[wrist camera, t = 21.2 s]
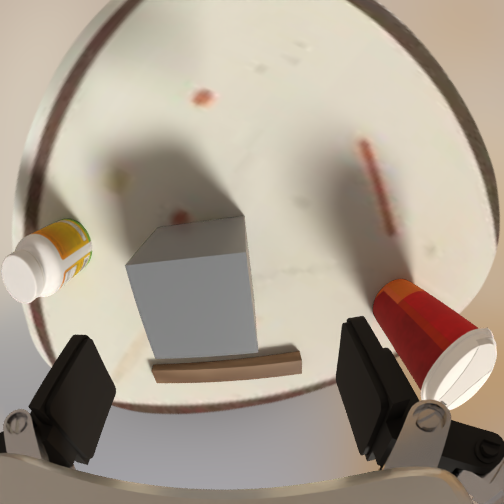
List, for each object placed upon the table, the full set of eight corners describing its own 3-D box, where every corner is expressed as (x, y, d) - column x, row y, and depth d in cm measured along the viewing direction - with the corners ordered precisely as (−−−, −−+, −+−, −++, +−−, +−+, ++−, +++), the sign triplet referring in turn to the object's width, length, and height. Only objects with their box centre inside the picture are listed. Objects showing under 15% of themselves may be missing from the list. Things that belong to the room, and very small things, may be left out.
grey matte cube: (159, 225, 26) (125, 265, 18) (244, 215, 26) (246, 252, 18) (176, 300, 29) (155, 358, 20) (253, 293, 29) (258, 352, 20)
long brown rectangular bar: (156, 356, 31) (151, 370, 29) (297, 345, 31) (301, 360, 29) (161, 368, 32) (156, 383, 30) (298, 358, 32) (301, 373, 30)
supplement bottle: (50, 217, 25) (-11, 244, 16) (92, 216, 25) (35, 246, 16) (56, 267, 26) (3, 307, 17) (97, 269, 27) (49, 316, 18)
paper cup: (387, 341, 31) (446, 423, 18) (349, 308, 29) (413, 401, 16) (432, 293, 30) (509, 358, 16) (400, 253, 28) (491, 317, 14)
